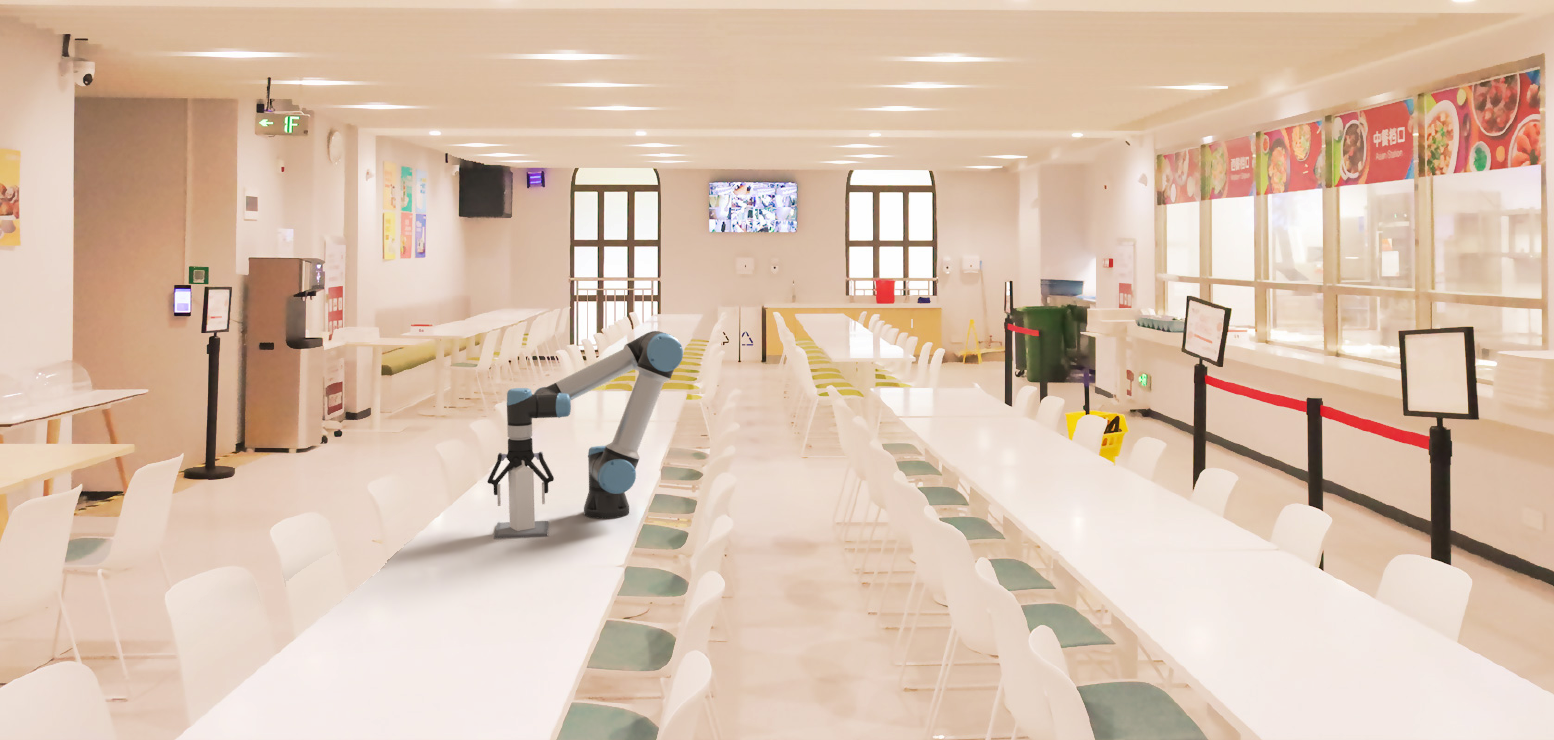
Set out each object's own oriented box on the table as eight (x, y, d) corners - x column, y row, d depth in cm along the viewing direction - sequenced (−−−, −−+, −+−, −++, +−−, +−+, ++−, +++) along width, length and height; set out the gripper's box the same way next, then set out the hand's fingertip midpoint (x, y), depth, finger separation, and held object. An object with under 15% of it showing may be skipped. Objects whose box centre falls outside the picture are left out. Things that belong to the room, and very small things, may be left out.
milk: (517, 531, 338) (514, 462, 335) (509, 527, 343) (507, 459, 340) (535, 528, 342) (533, 459, 339) (527, 524, 347) (525, 456, 344)
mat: (548, 523, 352) (548, 520, 352) (547, 536, 336) (547, 533, 336) (497, 525, 349) (497, 522, 349) (494, 538, 333) (494, 535, 333)
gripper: (560, 434, 345) (561, 499, 347) (479, 436, 340) (481, 502, 343) (560, 438, 338) (561, 505, 340) (477, 441, 333) (479, 508, 335)
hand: (521, 504), depth 341 cm, fingers open, 13 cm apart
